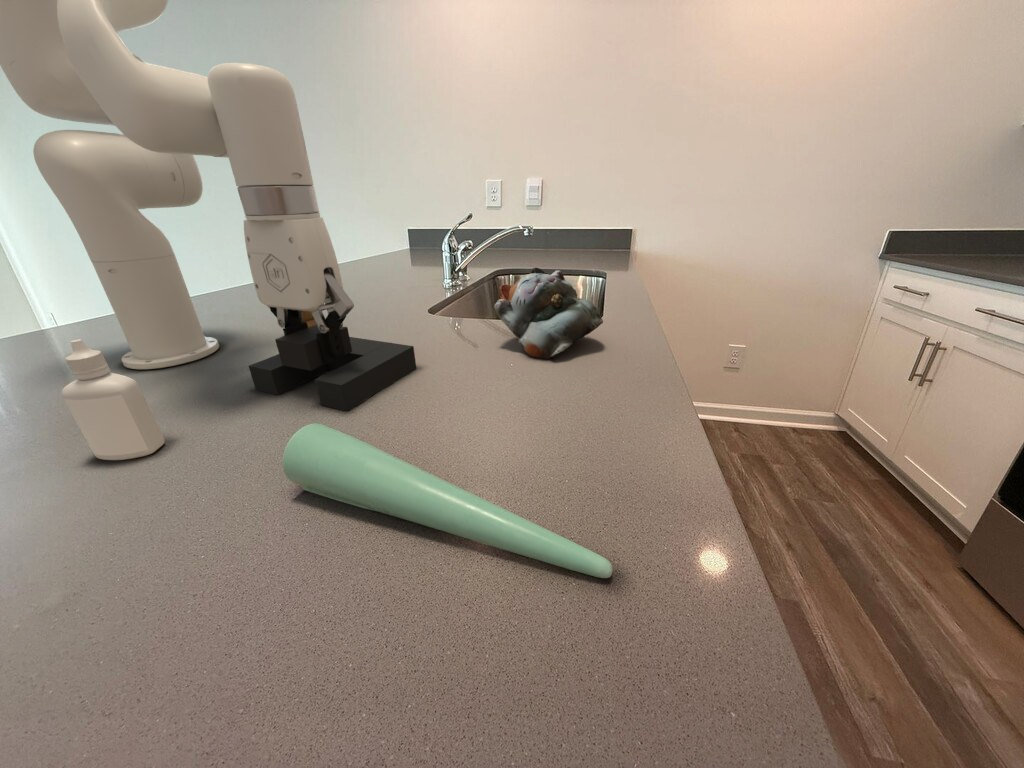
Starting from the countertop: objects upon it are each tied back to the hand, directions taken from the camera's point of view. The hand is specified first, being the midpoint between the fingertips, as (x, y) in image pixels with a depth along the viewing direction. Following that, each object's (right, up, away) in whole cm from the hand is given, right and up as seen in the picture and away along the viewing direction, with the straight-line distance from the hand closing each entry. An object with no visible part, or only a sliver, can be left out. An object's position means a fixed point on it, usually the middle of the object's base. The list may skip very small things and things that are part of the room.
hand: (318, 355), depth 53 cm
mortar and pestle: (-13, +5, +23) cm, 27 cm away
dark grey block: (0, 0, 0) cm, 0 cm away
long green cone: (+20, -15, -21) cm, 32 cm away
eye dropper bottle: (-14, -11, -11) cm, 21 cm away
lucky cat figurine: (+31, +3, +15) cm, 35 cm away
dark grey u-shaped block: (+1, -3, +4) cm, 5 cm away
